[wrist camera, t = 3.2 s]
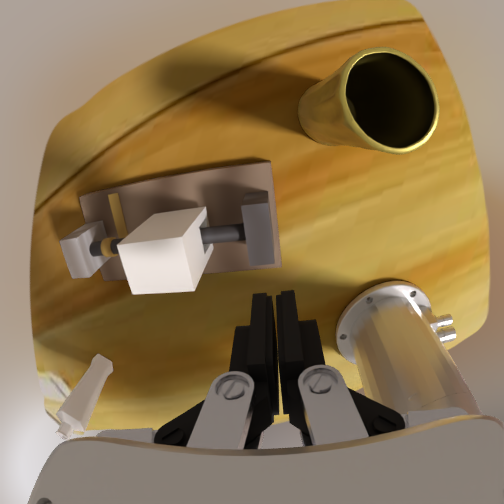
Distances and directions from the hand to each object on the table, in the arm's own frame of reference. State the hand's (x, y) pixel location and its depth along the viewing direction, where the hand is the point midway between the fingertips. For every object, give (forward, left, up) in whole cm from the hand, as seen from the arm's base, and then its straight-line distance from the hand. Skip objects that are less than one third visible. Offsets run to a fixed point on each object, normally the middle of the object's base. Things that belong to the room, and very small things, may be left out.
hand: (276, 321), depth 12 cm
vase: (-6, -9, -17) cm, 20 cm away
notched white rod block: (+8, 0, -15) cm, 17 cm away
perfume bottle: (+28, +20, -17) cm, 38 cm away
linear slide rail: (+10, 0, -17) cm, 20 cm away
